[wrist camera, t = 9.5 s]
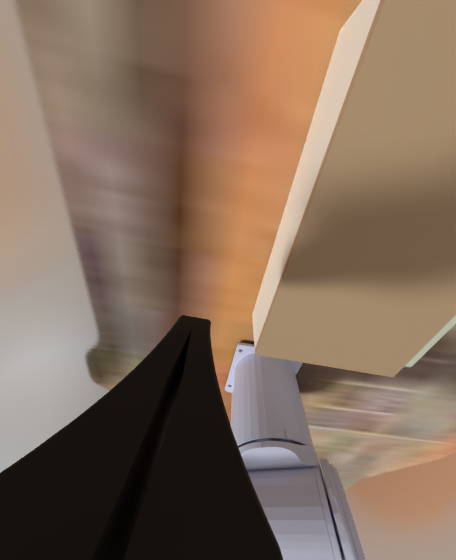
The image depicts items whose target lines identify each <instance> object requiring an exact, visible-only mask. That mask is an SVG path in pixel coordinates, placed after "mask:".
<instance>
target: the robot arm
mask: <svg viewBox="0 0 456 560" xmlns="http://www.w3.org/2000/svg"><path fill="white" fill-rule="evenodd" d="M210 324H211V322H210V321H209V320H207V319H201V318H196V317H190V316H184V315H182V316H181V317H180V318H179V319H178V321H177V322H176V323H175V325H174V326H173V327H172V328H171V330H170V331H169V332H168V333H167V335H166V336H165V337H164V338H163V339H162V340H161V341H160V343H159V344H158V345H157V346H156V347H155V348H154V349H153V350H152V351H151V352H150V354H149V355H148V356H147V357H146V358H145V359H144V360H143V361H142V362H141V363H140V364H139V365H138V366H137V367H136V368H135V369H134V370H132V371H131V372H130V373H129V374H128V375H127V376H126V377H125V378H124V379H123V380H122V381H121V382H119V383H118V384H117V385H116V386H115V387H114V388H113V389H112V390H110V391H109V392H108V393H107V394H106V395H104V396H103V397H102V398H101V399H100V400H98V401H97V402H96V403H95V404H94V405H92V406H91V407H90V408H89V409H87V410H86V411H85V412H84V413H82V414H81V415H80V416H79V417H77V418H76V419H75V420H73V421H72V422H71V423H70V424H68V425H67V426H65V427H64V428H63V429H61V430H60V431H59V432H57V433H56V434H54V435H53V436H52V437H51V438H49V439H48V440H46V441H45V442H44V443H42V444H41V445H40V446H39V447H37V448H35V449H34V450H33V451H31V452H30V453H28V454H27V455H26V456H24V457H23V458H21V459H20V460H19V461H17V462H16V463H14V464H13V465H11V466H10V467H9V468H7V469H6V470H4V471H2V472H1V473H0V560H365V557H364V553H363V550H362V547H361V543H360V540H359V537H358V534H357V530H356V527H355V524H354V520H353V517H352V514H351V511H350V508H349V505H348V502H347V499H346V495H345V492H344V489H343V486H342V483H341V480H340V477H339V474H338V471H337V469H336V468H335V467H333V466H332V465H331V464H329V462H328V460H327V459H320V463H321V467H322V471H323V475H324V479H323V475H322V471H321V467H320V464H319V461H318V458H317V455H316V452H315V449H314V446H313V443H312V439H311V435H310V431H309V427H308V423H307V419H306V415H305V411H304V407H303V403H302V400H301V396H300V392H299V388H298V384H297V380H296V374H297V372H298V371H299V369H300V367H301V365H302V364H303V362H297V361H291V360H285V359H279V358H273V357H267V356H260V355H255V346H254V344H248V343H238V344H237V347H236V351H235V354H234V358H233V361H232V365H231V368H230V372H229V375H228V379H227V382H226V386H225V391H227V392H231V393H232V409H231V426H230V422H229V419H228V416H227V413H226V410H225V407H224V403H223V400H222V396H221V392H220V389H219V385H218V380H217V376H216V372H215V367H214V361H213V355H212V348H211V338H210ZM240 349H242V350H240ZM324 482H325V483H324ZM325 486H326V487H325Z"/></svg>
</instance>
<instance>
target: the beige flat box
mask: <svg viewBox="0 0 456 560" xmlns="http://www.w3.org/2000/svg"><path fill="white" fill-rule="evenodd" d="M455 315H456V0H362V1H361V3H360V4H359V5H358V7H357V8H356V9H355V11H354V12H353V14H352V15H351V16H350V18H349V19H348V20H347V22H346V23H345V24H344V26H343V27H342V28H341V30H340V32H339V35H338V38H337V41H336V45H335V48H334V51H333V54H332V58H331V61H330V64H329V67H328V71H327V74H326V77H325V80H324V84H323V87H322V90H321V93H320V97H319V100H318V103H317V106H316V110H315V113H314V116H313V119H312V123H311V126H310V129H309V132H308V135H307V139H306V142H305V145H304V148H303V152H302V155H301V158H300V161H299V165H298V168H297V171H296V174H295V178H294V181H293V184H292V187H291V191H290V194H289V197H288V200H287V204H286V207H285V210H284V213H283V217H282V220H281V223H280V226H279V230H278V233H277V236H276V239H275V243H274V246H273V249H272V252H271V256H270V259H269V262H268V265H267V269H266V272H265V275H264V278H263V282H262V285H261V288H260V291H259V295H258V298H257V301H256V304H255V308H254V311H253V314H252V318H253V332H254V346H255V355H260V356H267V357H273V358H279V359H285V360H291V361H297V362H303V363H309V364H315V365H321V366H327V367H333V368H339V369H345V370H351V371H357V372H363V373H369V374H375V375H381V376H387V377H394V376H395V375H396V374H397V373H398V372H399V371H400V370H401V369H402V368H403V367H404V366H405V365H406V364H407V363H408V362H409V361H410V360H411V359H412V358H413V357H414V356H415V355H416V354H417V353H418V352H419V351H420V350H421V349H422V348H423V347H424V346H425V345H426V344H427V343H428V342H429V341H430V340H431V339H432V338H433V337H434V336H435V335H436V334H437V333H438V332H439V331H440V330H441V329H442V328H443V327H444V326H445V325H446V324H447V323H448V322H449V321H450V320H451V319H452V318H453V317H454V316H455Z"/></svg>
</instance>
